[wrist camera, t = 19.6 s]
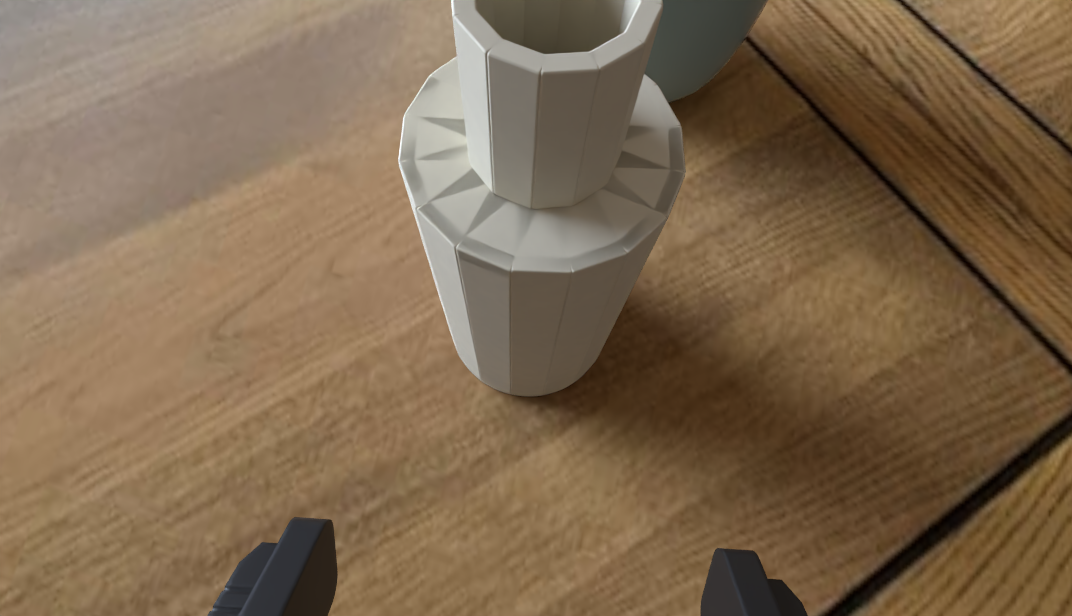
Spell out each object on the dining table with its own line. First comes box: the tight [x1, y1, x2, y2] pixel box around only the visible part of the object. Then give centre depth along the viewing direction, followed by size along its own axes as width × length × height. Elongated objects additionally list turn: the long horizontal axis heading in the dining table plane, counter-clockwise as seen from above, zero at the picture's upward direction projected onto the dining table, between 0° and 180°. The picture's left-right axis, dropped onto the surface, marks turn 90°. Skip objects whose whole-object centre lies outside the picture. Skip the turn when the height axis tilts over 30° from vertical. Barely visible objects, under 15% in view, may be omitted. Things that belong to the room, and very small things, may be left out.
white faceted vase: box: [398, 0, 686, 396], centre depth 17 cm, size 6×6×16 cm
